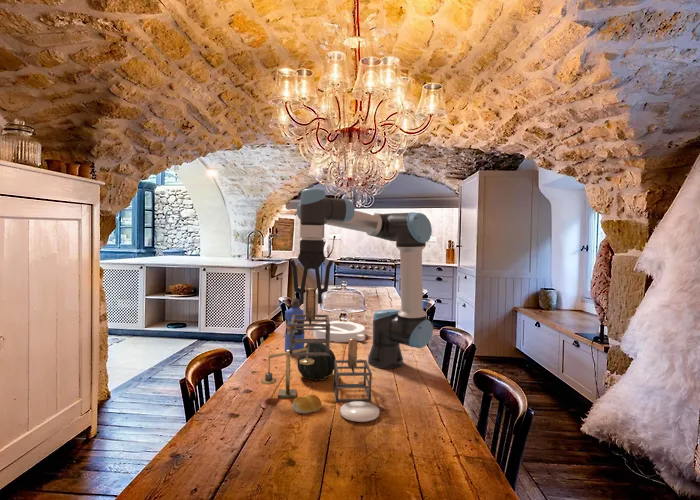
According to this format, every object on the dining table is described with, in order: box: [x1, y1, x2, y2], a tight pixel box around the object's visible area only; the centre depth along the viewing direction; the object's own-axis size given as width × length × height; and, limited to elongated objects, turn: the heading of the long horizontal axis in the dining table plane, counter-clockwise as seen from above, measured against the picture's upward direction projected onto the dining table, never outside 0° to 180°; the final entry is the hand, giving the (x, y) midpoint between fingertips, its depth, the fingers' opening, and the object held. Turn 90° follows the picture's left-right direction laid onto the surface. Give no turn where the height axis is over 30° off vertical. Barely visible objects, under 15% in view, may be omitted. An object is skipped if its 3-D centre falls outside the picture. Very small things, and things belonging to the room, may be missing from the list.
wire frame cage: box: [290, 287, 331, 357], centre depth 122 cm, size 12×14×19 cm
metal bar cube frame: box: [333, 338, 373, 403], centre depth 135 cm, size 12×14×19 cm
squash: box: [297, 343, 336, 381], centre depth 150 cm, size 14×15×15 cm
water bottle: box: [284, 297, 306, 353], centre depth 180 cm, size 9×9×25 cm
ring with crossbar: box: [313, 320, 366, 343], centre depth 214 cm, size 28×28×5 cm
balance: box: [260, 348, 314, 399], centre depth 132 cm, size 18×5×16 cm, turn 95°
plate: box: [339, 401, 380, 423], centre depth 119 cm, size 12×12×2 cm
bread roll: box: [291, 394, 322, 414], centre depth 123 cm, size 8×9×4 cm
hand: (310, 313), depth 122 cm, fingers closed on wire frame cage, 3 cm apart
